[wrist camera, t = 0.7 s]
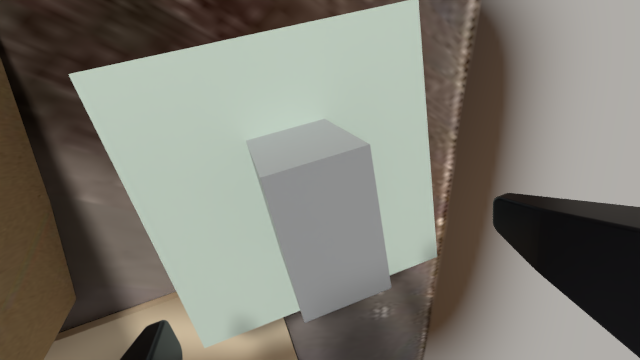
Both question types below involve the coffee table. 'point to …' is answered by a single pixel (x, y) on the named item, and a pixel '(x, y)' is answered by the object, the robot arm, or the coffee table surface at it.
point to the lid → (276, 164)
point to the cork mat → (125, 326)
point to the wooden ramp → (27, 246)
